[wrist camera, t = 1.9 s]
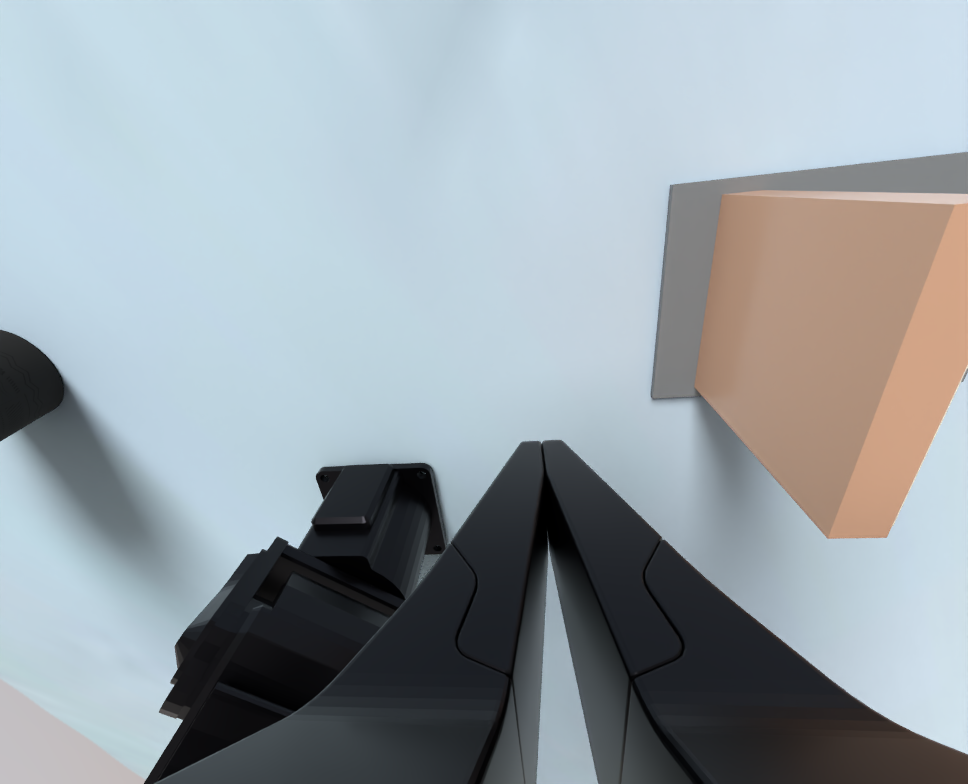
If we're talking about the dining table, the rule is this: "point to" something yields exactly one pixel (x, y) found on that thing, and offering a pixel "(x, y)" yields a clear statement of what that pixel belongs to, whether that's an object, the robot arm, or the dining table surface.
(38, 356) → the drinking cup
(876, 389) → the tile
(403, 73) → the dining table surface
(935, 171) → the mat
